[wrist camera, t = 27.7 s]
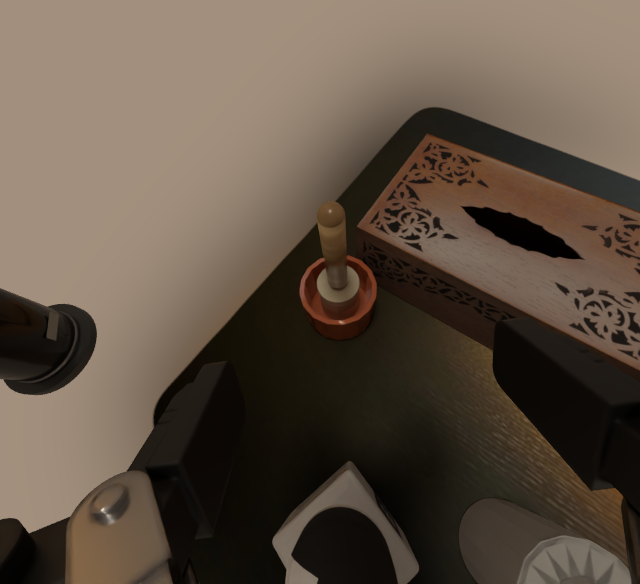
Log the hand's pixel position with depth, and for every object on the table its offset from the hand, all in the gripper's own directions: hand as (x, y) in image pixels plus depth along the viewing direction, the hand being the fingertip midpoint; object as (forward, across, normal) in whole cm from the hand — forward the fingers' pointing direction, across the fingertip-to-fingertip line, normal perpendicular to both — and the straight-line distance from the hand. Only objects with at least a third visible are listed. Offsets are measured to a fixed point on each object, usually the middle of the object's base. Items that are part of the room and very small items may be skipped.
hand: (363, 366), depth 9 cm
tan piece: (+26, 0, +9) cm, 28 cm away
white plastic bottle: (+9, -11, +27) cm, 31 cm away
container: (+11, +3, +25) cm, 28 cm away
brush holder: (+26, 0, +10) cm, 28 cm away
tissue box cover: (+27, -17, +9) cm, 33 cm away
